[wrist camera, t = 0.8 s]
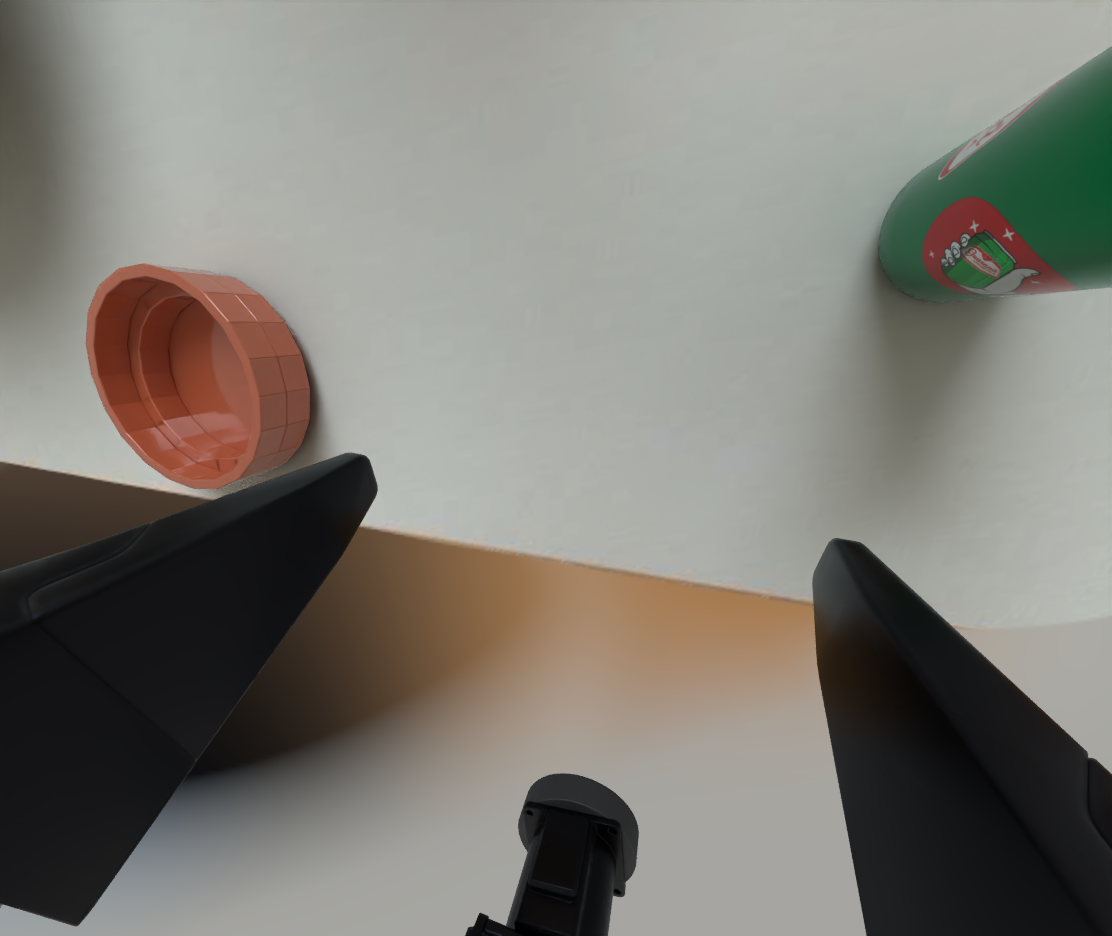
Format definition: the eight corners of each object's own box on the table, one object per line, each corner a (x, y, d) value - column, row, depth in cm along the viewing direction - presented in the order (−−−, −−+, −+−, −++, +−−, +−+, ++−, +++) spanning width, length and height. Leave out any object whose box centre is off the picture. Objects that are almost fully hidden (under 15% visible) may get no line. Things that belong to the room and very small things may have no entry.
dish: (338, 468, 28) (286, 489, 24) (198, 469, 31) (134, 488, 28) (287, 259, 24) (217, 247, 21) (136, 287, 28) (54, 281, 24)
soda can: (1040, 131, 15) (1984, -384, 4) (1032, 284, 16) (1742, 201, 5) (870, 179, 17) (1227, -99, 6) (874, 316, 18) (1173, 302, 7)
